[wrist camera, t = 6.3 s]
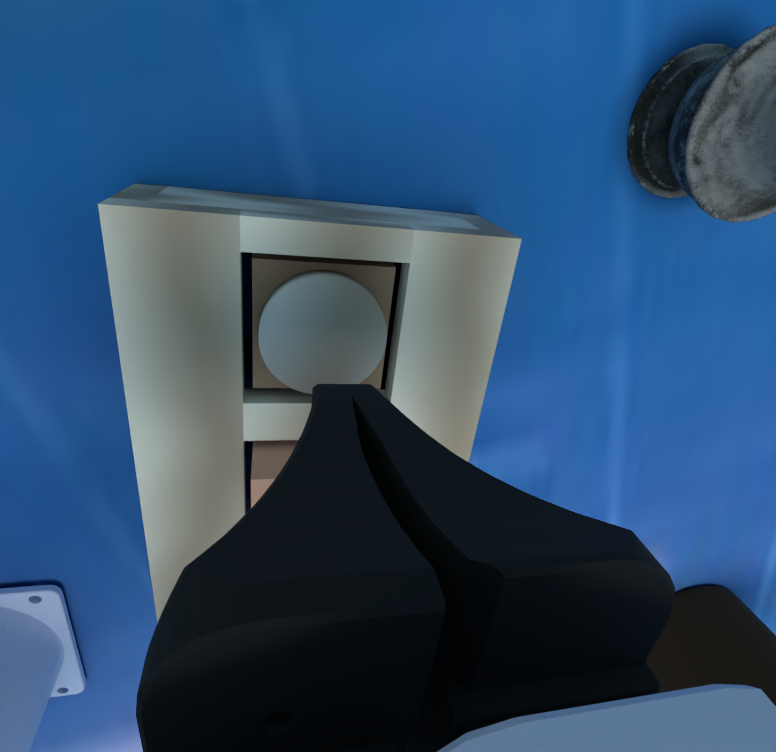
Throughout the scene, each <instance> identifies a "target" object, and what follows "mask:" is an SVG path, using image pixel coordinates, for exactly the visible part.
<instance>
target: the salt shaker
mask: <svg viewBox="0 0 776 752" xmlns="http://www.w3.org/2000/svg"><path fill="white" fill-rule="evenodd" d="M627 146H628V159H629V163H630V166H631V170H632V173H633V175H634V176H635V178H636V179H637V181H638V182H639V184H640V185H641V186H642V187H643V188H645V189H646V190H647V191H649V192H650V193H651V194H654V195H658V196H662V197H665V198H677V197H684V196H687V195H689V196H690V197H691V198H693V199H694V200H695V201H696V203H697V205H698V206H699V207H700V208H701V209H702V210H704V211H705V212H706V213H707V214H709V215H710V216H711V217H713V218H717V219H721V220H724V221H728V222H744V221H752V220H755V219H757V218H760V217H763V216H766V215H769V214H771V213H772V212H774V211H776V24H775V25H773V26H770V27H767V28H765V29H764V30H762V31H761V32H759V33H758V34H756V35H755V36H753V37H752V38H750V39H749V40H747V41H746V42H744V43H743V44H741V45H739V46H738V47H736V48H735V49H734V48H731V47H729V46H726V45H724V44H701V45H698V46H695V47H692V48H689V49H686V50H684V51H682V52H681V53H679V54H678V55H676V56H675V57H673V58H672V59H670V60H669V61H667V62H666V63H665V64H664V65H663V66H662V67H661V68H660V70H659V71H658V72H657V73H656V74H655V75H654V76H653V77H652V78H651V80H650V81H649V83H648V84H647V86H646V87H645V89H644V91H643V92H642V94H641V95H640V97H639V99H638V102H637V104H636V107H635V109H634V112H633V114H632V117H631V121H630V126H629V132H628V137H627Z"/></svg>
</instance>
